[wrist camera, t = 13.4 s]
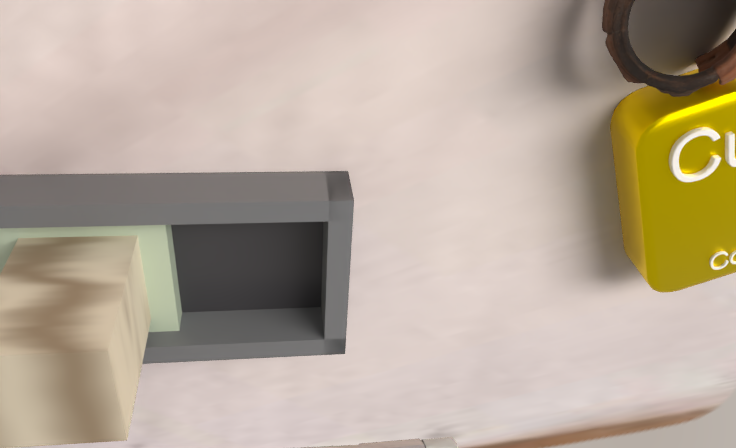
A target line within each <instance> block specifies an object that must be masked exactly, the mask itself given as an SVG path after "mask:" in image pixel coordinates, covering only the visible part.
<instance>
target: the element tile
mask: <svg viewBox="0 0 736 448" xmlns="http://www.w3.org/2000/svg"><path fill="white" fill-rule="evenodd" d="M695 73H699V72H698V69H696V70H693V71H690V72H687V73H684V74H681V75H679V76H682V75H691V74H695ZM610 129H611V138H612V146H613V155H614V164H615V173H616V181H617V190H618V199H619V208H620V216H621V225H622V234H623V243H624V249H625V252H626V254H627V255H628V257H629V258H630V260H631V261H632V262H633V264H634V265H635V266H636V268H637V269H638V271H639V272H640V273H641V275H642V276H643V278H644V279H645V280H646V282H647V283H648V284H649V285H650V287H651V288H652V289H653V290H656V291H659V292H673V291H678V290H681V289H685V288H688V287H691V286H694V285H697V284H700V283H704V282H707V281H710V280H713V279H716V278H719V277H722V276H726V275H729V274H732V273H735V272H736V79H734V80H732V81H730V82H728V83H726V84H724V85H720V84H719V79H718V80H717V81H716V82H715V83H712V84H710V85H708V86H705V87H702V88H700V89H699V90H697V91H695V92H693V93H691V94H690V95H689V96H680V97H673V96H671V95H670V94H666V93H662V92H660V91H659V90H658V89H656V88H654V87H651V86H647V87H644V88H641V89H639V90H637V91H635V92H633V93H631V94H629V95H628V96H627V97H625V98H624V99H623V100H621V102H620V103H619V104H618V106H617V107H616V108H615V110H614V113H613V116H612V119H611V124H610Z"/></svg>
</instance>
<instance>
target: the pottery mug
mask: <svg viewBox="0 0 736 448" xmlns="http://www.w3.org/2000/svg"><path fill="white" fill-rule="evenodd" d="M634 1H635V0H605V3H604V8H603V21H602V28H603V31H604V32H607V38H606V46H607V48H608V51H609V53H610V55H611V56H612V58H613V60H614V62H615V63H616V64H617V66H618V68H619V69H620V71H621V73H622V74H623V77H624V78H625V79H626V80H627V81H628V82H633V83H646V84H647V85H649V86H651V87H654V88H656V89H658V90H659V91H660V92H662V93H666V94H670V95H671V96H673V97H680V96H689V95H690V94H691V93H693V92H695V91H697V90H699V89H700V88H702V87H705V86H708V85H710V84H712V83H715V82H716V81H717V80H718V79H719V84H720V85H724V84H726V83H728V82H730V81H732V80H734V79H736V29H735V31H734V32H733V33H732V34H731V35H730V37H729V38H728V39H727V40H725V41H724V42H723V43H722V44H720V45H719V46H718V47H716V48H714V49H713V50H711V51H710V52H708V53H706V54H704V55H702V56H699V57H697V58H696V64H697V66H698V68H699V69H698V72H699V73H695V74H691V75H682V76H673V75H666V74H662V73H659V72H655V71H654V70H652V69H650V68H649V67H647V66H646V65H645V64H644V63H643V62H641V61H640V59H639V58H638V57H637V56H636V54H635V53H634V51H633V49H632V47H631V44H630V41H629V36H628V20H629V14H630V11H631V7H632V5H633V3H634Z"/></svg>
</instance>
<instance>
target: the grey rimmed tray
mask: <svg viewBox="0 0 736 448" xmlns="http://www.w3.org/2000/svg"><path fill="white" fill-rule="evenodd" d="M353 207H354V198H353V194H352V189H351V184H350V179H349V174H348V171H331V172H240V173H150V174H59V175H0V274H1V272H2V270H3V268H4V266H5V264H6V262H7V260H8V258H9V256H10V254H11V252H12V250H13V248H14V246H15V244H16V242H17V240H18V238H42V237H87V236H132V235H138V240H139V246H140V253H141V259H142V265H143V271H144V278H145V284H146V290H147V296H148V303H149V309H150V315H151V322H150V327H149V332H148V337H147V342H146V347H145V352H144V357H143V362H142V364H147V363H168V362H188V361H209V360H229V359H250V358H270V357H291V356H311V355H332V354H345V344H346V327H347V310H348V293H349V276H350V259H351V242H352V224H353Z"/></svg>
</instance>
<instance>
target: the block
mask: <svg viewBox="0 0 736 448" xmlns="http://www.w3.org/2000/svg"><path fill="white" fill-rule="evenodd" d="M150 322H151V315H150V309H149V303H148V296H147V290H146V284H145V278H144V271H143V265H142V259H141V253H140V246H139V240H138V235H132V236H87V237H42V238H18V240H17V242H16V244H15V246H14V248H13V250H12V252H11V254H10V256H9V258H8V260H7V262H6V264H5V266H4V268H3V270H2V272H1V274H0V448H13V447H29V446H45V445H61V444H77V443H93V442H109V441H124V440H127V438H128V433H129V428H130V423H131V418H132V413H133V408H134V403H135V398H136V393H137V388H138V382H139V377H140V372H141V367H142V362H143V357H144V352H145V347H146V342H147V337H148V332H149V327H150Z"/></svg>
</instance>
